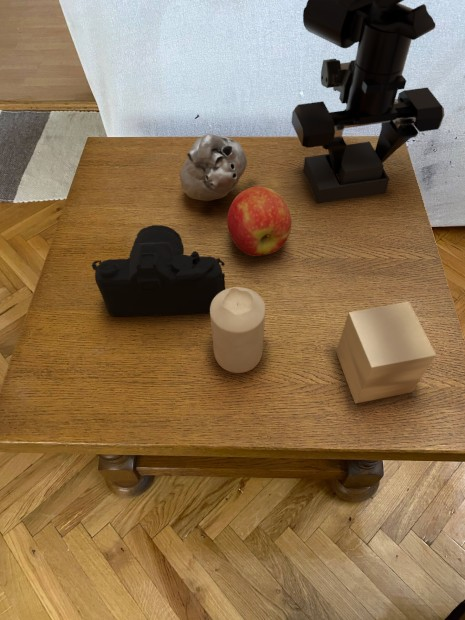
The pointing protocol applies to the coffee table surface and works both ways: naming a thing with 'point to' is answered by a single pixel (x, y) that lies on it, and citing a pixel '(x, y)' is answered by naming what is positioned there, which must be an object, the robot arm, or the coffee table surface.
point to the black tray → (328, 186)
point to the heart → (212, 167)
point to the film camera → (159, 277)
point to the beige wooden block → (383, 351)
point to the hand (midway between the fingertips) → (354, 169)
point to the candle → (237, 328)
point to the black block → (360, 164)
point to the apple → (259, 221)
